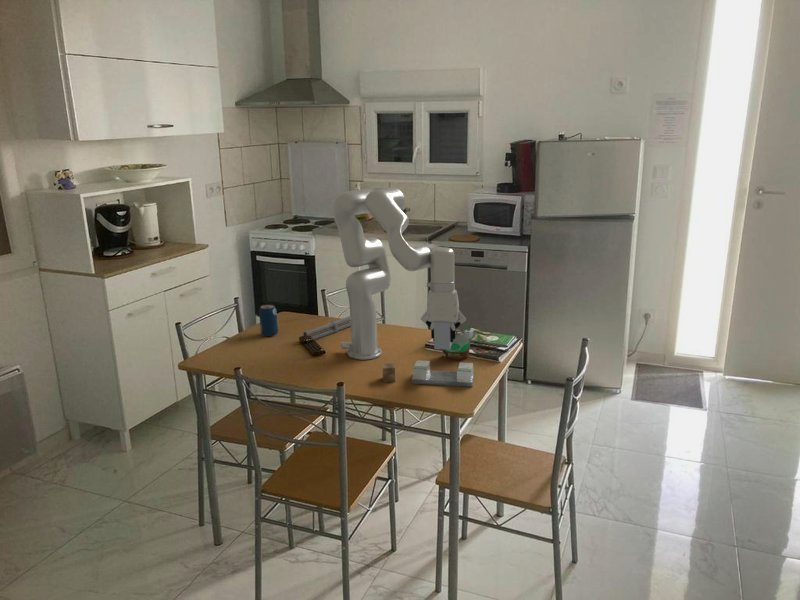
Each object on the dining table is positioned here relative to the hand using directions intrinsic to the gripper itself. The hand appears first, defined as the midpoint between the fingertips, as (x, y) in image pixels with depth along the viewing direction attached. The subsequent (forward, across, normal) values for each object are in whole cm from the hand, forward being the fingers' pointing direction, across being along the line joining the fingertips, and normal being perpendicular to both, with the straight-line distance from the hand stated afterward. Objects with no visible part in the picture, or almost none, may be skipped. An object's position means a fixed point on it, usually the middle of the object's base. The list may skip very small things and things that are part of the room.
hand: (443, 340), depth 213 cm
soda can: (+14, -76, +36) cm, 86 cm away
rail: (+14, 0, 0) cm, 14 cm away
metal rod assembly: (+14, -52, +40) cm, 67 cm away
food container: (+14, +2, +20) cm, 25 cm away
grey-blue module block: (+2, 0, 0) cm, 2 cm away
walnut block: (+14, -18, -2) cm, 23 cm away
